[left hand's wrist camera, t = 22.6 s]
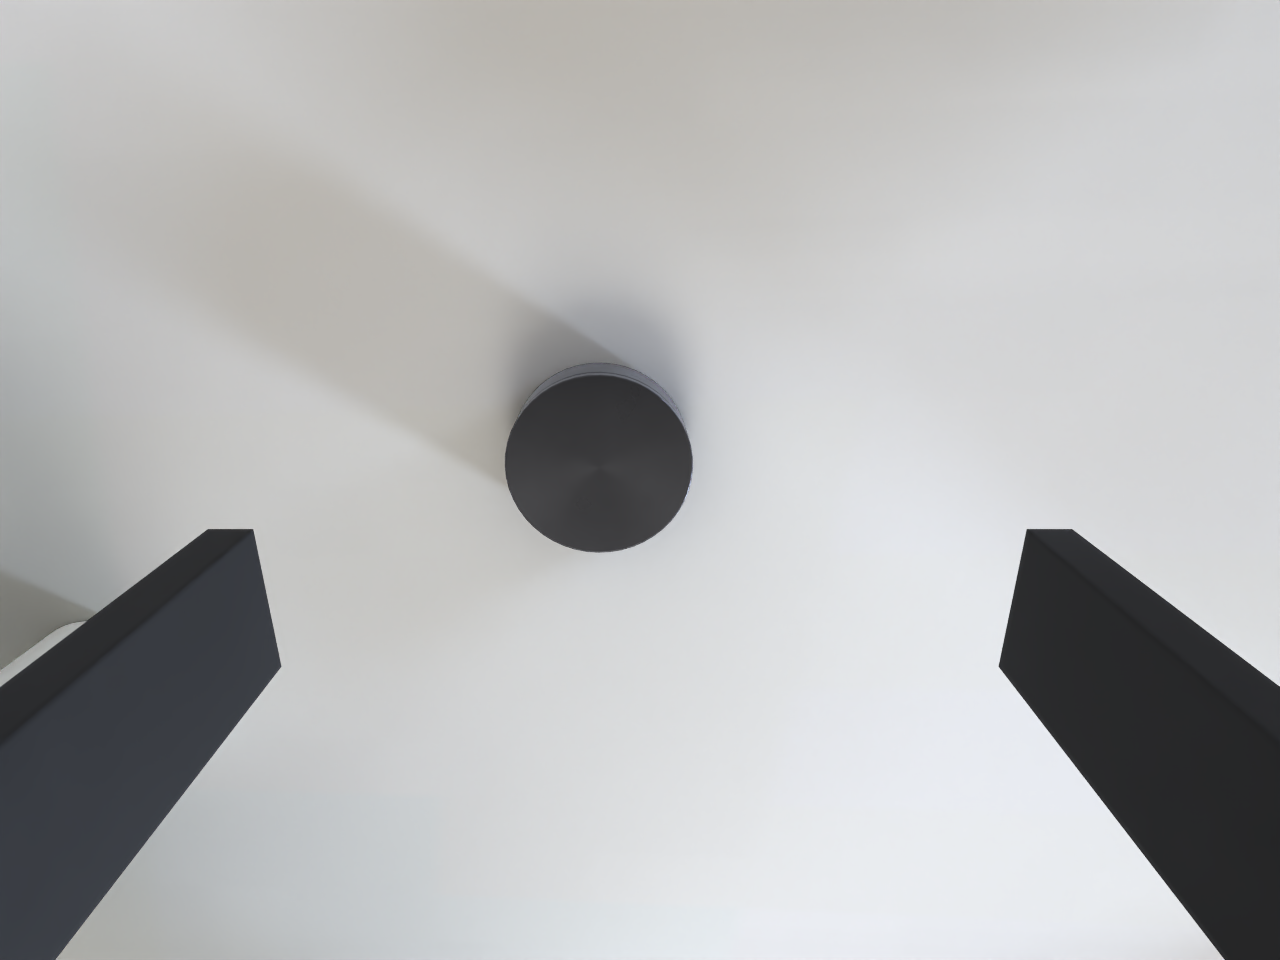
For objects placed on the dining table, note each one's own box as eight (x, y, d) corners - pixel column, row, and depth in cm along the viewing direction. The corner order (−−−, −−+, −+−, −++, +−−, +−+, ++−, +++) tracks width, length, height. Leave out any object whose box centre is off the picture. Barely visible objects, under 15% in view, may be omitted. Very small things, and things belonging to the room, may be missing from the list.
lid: (682, 529, 24) (687, 554, 22) (515, 527, 23) (507, 551, 22) (691, 364, 22) (697, 377, 20) (510, 360, 22) (501, 372, 20)
